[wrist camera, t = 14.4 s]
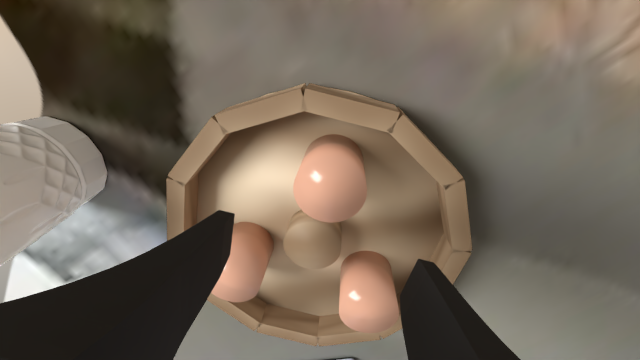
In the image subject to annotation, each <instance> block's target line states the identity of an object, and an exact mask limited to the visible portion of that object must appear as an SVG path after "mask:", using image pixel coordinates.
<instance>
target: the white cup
mask: <svg viewBox="0 0 640 360" xmlns="http://www.w3.org/2000/svg"><path fill="white" fill-rule="evenodd" d="M106 178H107V170H106V166H105V163H104V160H103V157H102V154H101V153H100V151H99V150H98V149H97V147H96V146H95V145H94V143H93V142H92V141H91V139H90V138H89V137H88V136H87V135H85V134H84V133H83V132H81V131H80V130H78V129H77V128H76V127H74V126H73V125H71V124H70V123H68V122H65V121H61V120H58V119H55V118H51V117H47V116H45V117H39V118H34V119H29V120H23V121H19V122H14V123H7V124H0V266H2V265H3V264H4V263H6V262H7V261H9V260H10V259H11V258H13V257H14V256H16V255H17V254H19V253H20V252H21V251H23V250H24V249H26V248H27V247H29V246H30V245H32V244H33V243H34V242H36V241H37V240H38V239H39V238H40V237H41V236H43V235H44V234H46V233H47V232H49V231H50V230H52V229H53V228H55V227H56V226H57V225H58V224H59V223H61V222H62V221H64V220H65V219H67V218H68V217H69V216H71V215H72V214H73V213H74V212H75V210H76V209H78V208H79V207H81V206H82V205H83V204H85V203H86V202H88V201H89V200H91V199H92V198H93V197H95V196H96V195H97V194H98V193H99V192H100V191H102V190H103V189H104V187H105V182H106Z"/></svg>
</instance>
